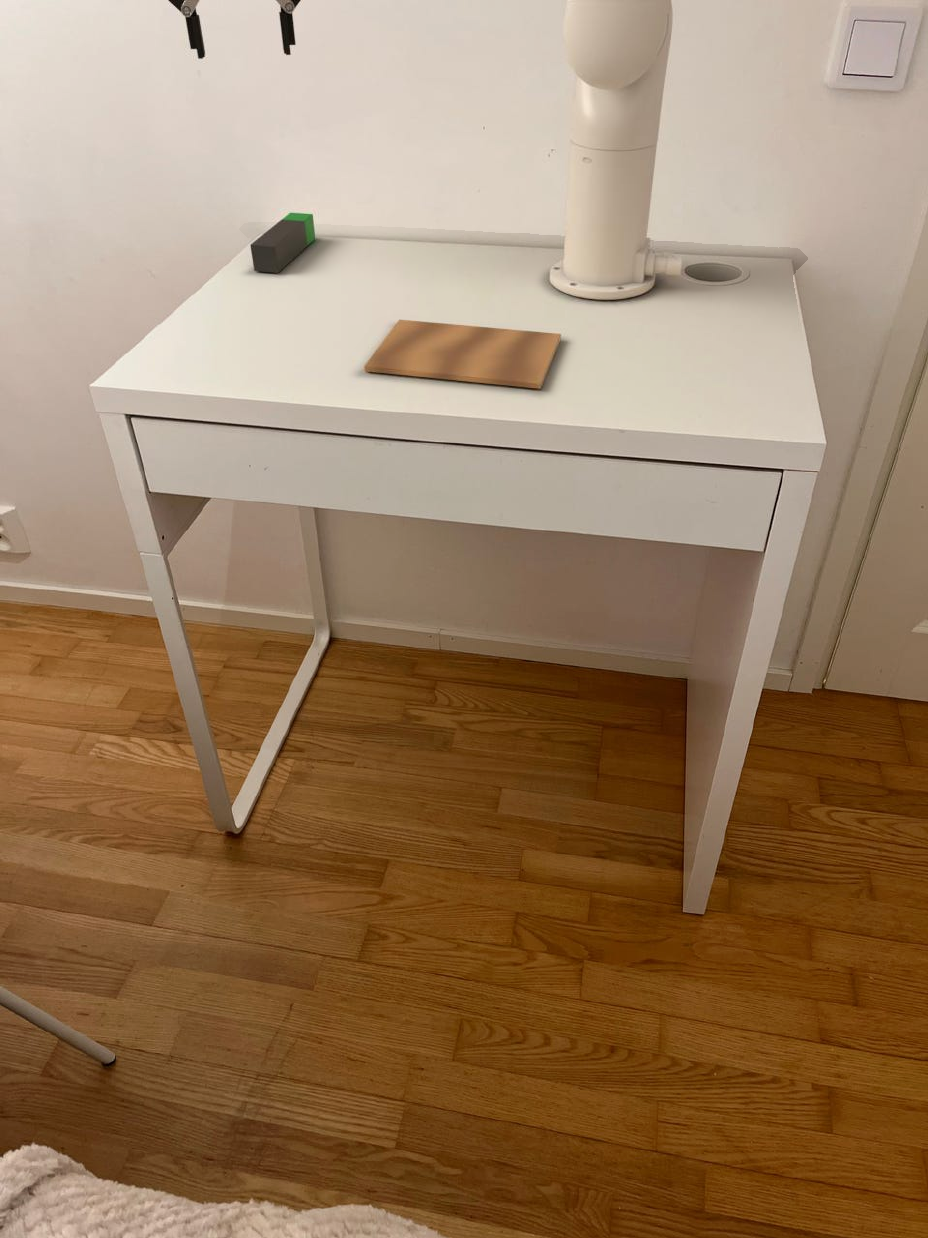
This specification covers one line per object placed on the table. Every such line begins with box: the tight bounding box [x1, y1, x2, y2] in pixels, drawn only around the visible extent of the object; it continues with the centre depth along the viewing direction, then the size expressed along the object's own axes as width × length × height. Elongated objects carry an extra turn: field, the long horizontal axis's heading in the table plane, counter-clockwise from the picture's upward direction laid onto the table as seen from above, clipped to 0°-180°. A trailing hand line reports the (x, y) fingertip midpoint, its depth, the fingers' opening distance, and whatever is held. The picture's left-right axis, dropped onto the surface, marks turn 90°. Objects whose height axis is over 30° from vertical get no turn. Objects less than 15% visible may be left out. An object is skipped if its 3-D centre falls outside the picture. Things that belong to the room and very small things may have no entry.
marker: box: [250, 212, 316, 274], centre depth 120 cm, size 13×3×3 cm, turn 166°
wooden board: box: [364, 319, 562, 390], centre depth 97 cm, size 18×12×1 cm, turn 76°
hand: (244, 54), depth 107 cm, fingers open, 9 cm apart
